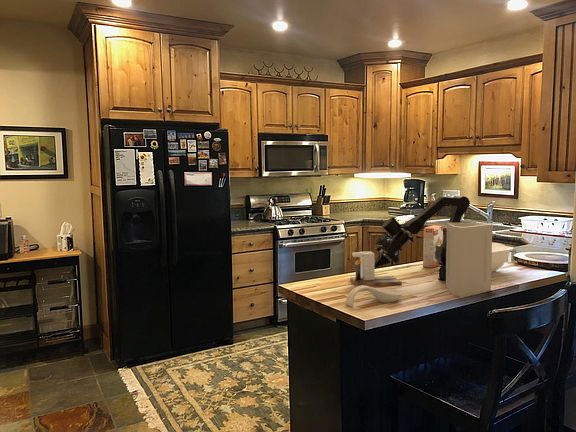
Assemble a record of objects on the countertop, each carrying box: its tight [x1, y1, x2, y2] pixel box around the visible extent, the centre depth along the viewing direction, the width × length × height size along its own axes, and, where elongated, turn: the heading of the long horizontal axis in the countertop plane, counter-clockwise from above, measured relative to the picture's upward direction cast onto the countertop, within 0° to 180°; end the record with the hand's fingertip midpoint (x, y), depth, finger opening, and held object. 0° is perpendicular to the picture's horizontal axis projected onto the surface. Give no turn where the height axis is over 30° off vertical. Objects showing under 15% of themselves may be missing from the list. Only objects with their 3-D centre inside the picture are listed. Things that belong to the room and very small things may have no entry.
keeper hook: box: [354, 259, 361, 280], centre depth 210 cm, size 3×3×9 cm
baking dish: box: [439, 242, 514, 273], centre depth 233 cm, size 34×28×13 cm
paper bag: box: [445, 222, 493, 298], centre depth 195 cm, size 19×15×28 cm
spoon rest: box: [345, 285, 404, 308], centre depth 180 cm, size 24×12×7 cm, turn 115°
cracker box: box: [422, 225, 444, 269], centre depth 247 cm, size 14×6×21 cm, turn 143°
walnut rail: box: [349, 275, 403, 287], centre depth 212 cm, size 20×12×2 cm, turn 96°
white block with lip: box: [351, 250, 376, 280], centre depth 210 cm, size 9×6×12 cm, turn 96°
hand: (373, 267), depth 211 cm, fingers closed
